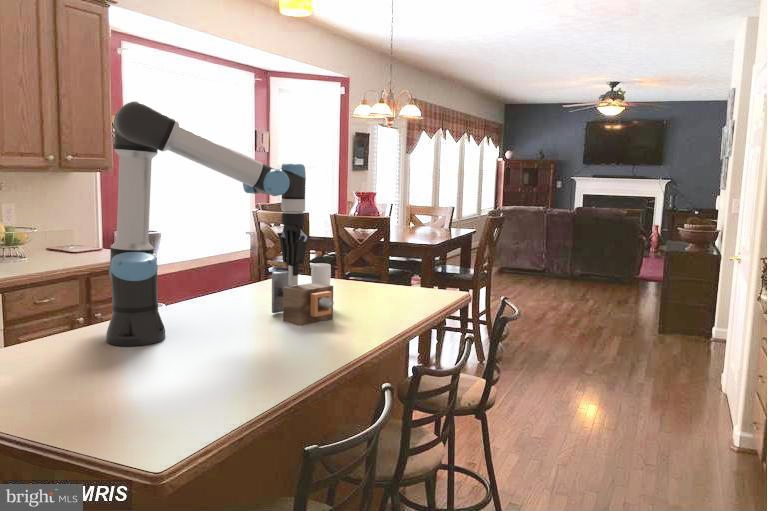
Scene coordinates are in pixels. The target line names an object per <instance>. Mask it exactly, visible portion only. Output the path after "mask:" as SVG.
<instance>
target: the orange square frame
mask: <svg viewBox="0 0 768 511" xmlns="http://www.w3.org/2000/svg"><path fill="white" fill-rule="evenodd" d="M321 297H326V298H331V299H332V292H330V291H324V292H318V293H312V294H311V316H314V317H316V316H321V315H326V314H331V308H332V307H331V308H326V307H324V309H323V310H318V298H321Z"/></svg>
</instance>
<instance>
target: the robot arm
mask: <svg viewBox="0 0 768 511" xmlns="http://www.w3.org/2000/svg"><path fill="white" fill-rule="evenodd" d="M112 125H113V132H114V133H113V134H114V135H113V136H114V137H113V151H114V152H115V153H116V154H117V155H118V156H119V158H118V159H119V162H118V187H117V188H118V190H117V191H118V192H117V215H116V216H117V218H116V220H117V221H116V240H115V242H114V243H113V244H110V255H109V256H110V259H109V266H108V276H109V279H110V282H111V298H112V299H111V304H112V315H111V317H110V321H109V324H108V327H107V330H106V334H105V335H106V343H107V344H109V345H112V346H118V347H119V346H120V347H137V346H147V345H151V344H156V343H160V342H162V341H164V340H165V339H166V328H165V325H164V323H163V321H162V317H161V315H160V312H159V295H158V293H159V291H158V289H159V288H158V286H159V285H158V269H159V267H158V266H159V265H158V262H157V257H156V256H155V255H154V246H153V245H151V243H150V242H149V233H150V231H149V230H150V211H151V210H150V209H151V204H150V203H151V184H152V161H153V158H155V157H156V156H157V155H158V151H161V152H165V151H169V152H172V153H175V154H176V155H178V156H181V157H183V158H186V159H188V160H189V161H192V162H195V163H197V164H199V165H200V166H204V167H206V168H209V169H211V170H213V171H214V172H217V173H220V174H222V175H224V176H227V177H229V178H231V179H234V180H235V181H238V182H240V183H242V188H243V191H244V192H245V193H247V194H253V195H254V194H262V195H268V196H272V197H279V196H281V200H280V201H281V204H280V205H281V206H280V207H281V208H280V210H281V212H282V213H281V225H283V228H282V231H281V232H278V233H277V235H278V239H279V243H280V249H281V250H280V251H281V257H282V262H283V263H285V264H286V266H287V272H288V285H289V286H296V285H299V283H298V282H299V272H300V270H299V269H300V268H299V266H300V265H303V264H304V261H305V257H306V256H305V255H306V250H307V246H308V245H307V243H308V242H309V239H310V236H309V235H306V234H305V233H304V232H305V231H304V230H305V229H304V225H305V224H306V214H305V213H304V212H305V211H306V182H307V181H306V179H307V177H306V174H307V173H306V166H305V165H304V164H302V163H282V165H281V168H280V169H279V168H274V167H271V166H270V165H267V164H265V163H262V162H261V161H259V160H256V159H255V158H252V157H250V156H248V155H246V154H243V153H242V152H239V151H237V150H235V149H232V148H231V147H229V146H226V145H224V144H222V143H220V142H218V141H216V140H214V139H211V138H209V137H207V136H205V135H202V134H200V133H198V132H196V131H194V130H192V129H190V128H188V127H185V126H183V125H181V124H180V123H179V121H178V119H177V118H175V117H173V116H171V115H169V114H167V113H165V112H163V111H162V110H159V109H158V108H157V107H155V106H153V105H151V104H149V103H148V102H144V101H139V100H135V101H129V102H127V103H125V104H124V105H123V106H122V107H120V108H119V110H118V111H117V112H116V114H115V115H114V119H113V124H112Z"/></svg>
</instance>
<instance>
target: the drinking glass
mask: <svg viewBox="0 0 768 511" xmlns="http://www.w3.org/2000/svg"><path fill="white" fill-rule="evenodd" d="M310 270H311V271H310V277H311V279H310V280H311V283H322V284H327V285H331V276H332V267H331V264H329V263H323V262H322V263H321V262H319V263H318V262H317V263H312V264H311V269H310Z"/></svg>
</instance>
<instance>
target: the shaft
mask: <svg viewBox="0 0 768 511" xmlns="http://www.w3.org/2000/svg"><path fill="white" fill-rule="evenodd" d="M283 287H290V286H289V285H288V271H283V272H275V273H271V314H272V313H273V314H277V313H283ZM318 306H322V307H326V308H331V307H332V306H333V307H334V298H333V299H331V298H326V297H321V298H318Z"/></svg>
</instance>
